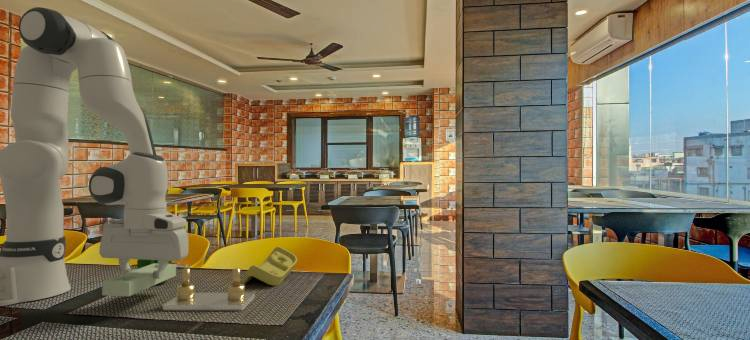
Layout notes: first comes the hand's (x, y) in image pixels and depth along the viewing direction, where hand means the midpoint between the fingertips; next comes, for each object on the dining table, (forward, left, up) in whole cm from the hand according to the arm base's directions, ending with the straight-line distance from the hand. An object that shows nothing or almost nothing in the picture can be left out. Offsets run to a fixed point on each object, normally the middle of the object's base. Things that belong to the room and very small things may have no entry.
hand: (143, 277), depth 93 cm
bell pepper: (-6, +16, -6) cm, 18 cm away
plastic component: (+25, +23, -6) cm, 34 cm away
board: (0, 0, -2) cm, 2 cm away
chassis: (+17, -1, -6) cm, 18 cm away
